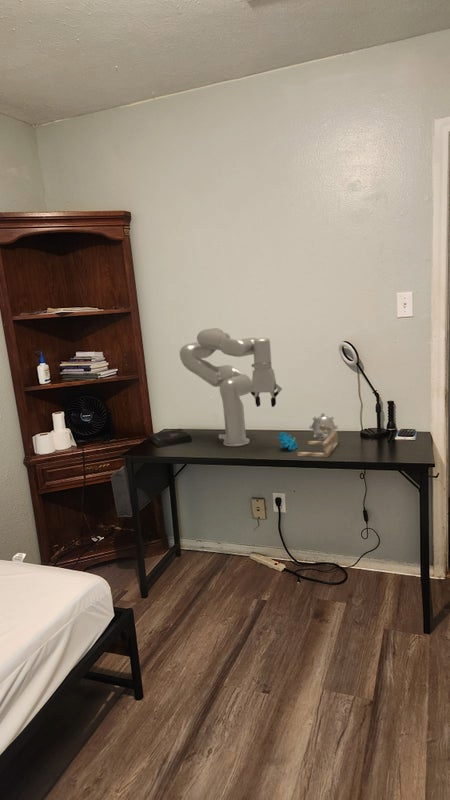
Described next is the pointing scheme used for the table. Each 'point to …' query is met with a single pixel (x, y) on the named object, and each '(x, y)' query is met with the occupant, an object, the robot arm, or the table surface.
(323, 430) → the gear
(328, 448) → the gear bay
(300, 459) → the table surface
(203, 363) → the robot arm
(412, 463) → the table surface
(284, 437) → the blue spiky oval
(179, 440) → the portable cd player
